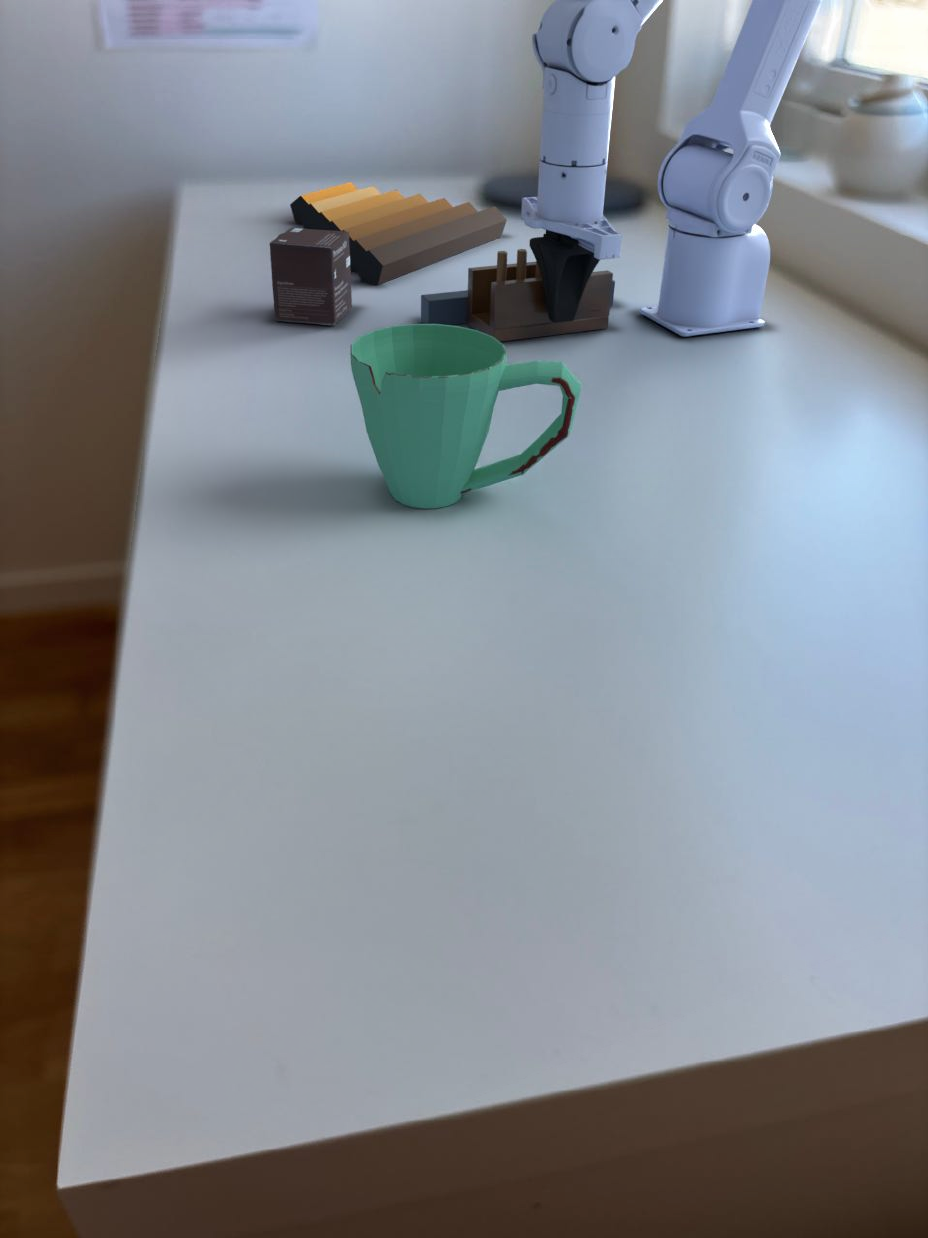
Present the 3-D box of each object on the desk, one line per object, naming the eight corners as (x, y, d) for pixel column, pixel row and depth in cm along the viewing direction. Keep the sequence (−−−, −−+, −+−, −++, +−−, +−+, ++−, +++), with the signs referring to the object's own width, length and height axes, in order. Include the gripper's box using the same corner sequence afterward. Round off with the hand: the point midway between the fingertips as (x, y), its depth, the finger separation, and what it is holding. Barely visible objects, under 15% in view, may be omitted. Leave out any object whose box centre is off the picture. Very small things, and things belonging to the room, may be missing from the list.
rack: (577, 310, 108) (583, 235, 104) (608, 328, 104) (615, 250, 100) (466, 323, 104) (468, 245, 100) (493, 342, 99) (496, 261, 96)
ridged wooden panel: (383, 285, 113) (506, 237, 131) (382, 252, 111) (507, 208, 129) (205, 247, 124) (340, 207, 142) (202, 216, 122) (339, 179, 140)
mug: (342, 522, 70) (337, 372, 65) (365, 457, 78) (362, 319, 73) (572, 535, 69) (586, 385, 64) (570, 469, 78) (583, 330, 72)
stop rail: (603, 300, 111) (605, 275, 110) (613, 305, 110) (615, 280, 108) (420, 320, 104) (420, 294, 103) (428, 327, 103) (428, 300, 101)
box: (334, 327, 102) (331, 247, 98) (273, 322, 103) (267, 241, 99) (353, 308, 107) (350, 230, 103) (294, 302, 108) (289, 226, 104)
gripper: (493, 147, 96) (488, 301, 104) (573, 180, 85) (560, 350, 93) (564, 143, 99) (554, 294, 106) (650, 175, 88) (631, 341, 95)
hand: (561, 320), depth 99 cm, fingers closed
